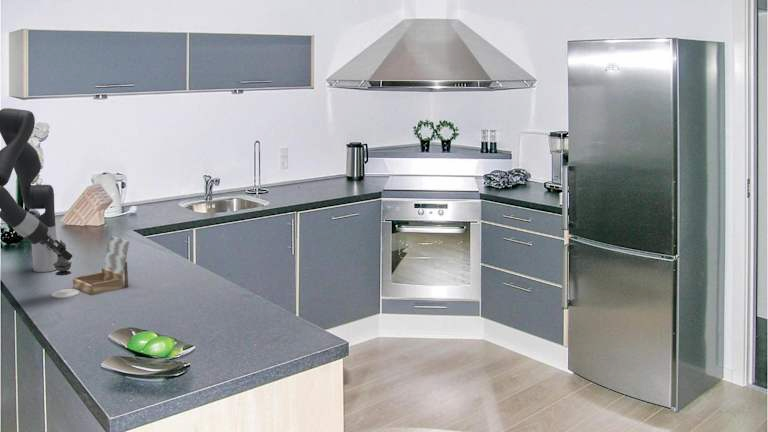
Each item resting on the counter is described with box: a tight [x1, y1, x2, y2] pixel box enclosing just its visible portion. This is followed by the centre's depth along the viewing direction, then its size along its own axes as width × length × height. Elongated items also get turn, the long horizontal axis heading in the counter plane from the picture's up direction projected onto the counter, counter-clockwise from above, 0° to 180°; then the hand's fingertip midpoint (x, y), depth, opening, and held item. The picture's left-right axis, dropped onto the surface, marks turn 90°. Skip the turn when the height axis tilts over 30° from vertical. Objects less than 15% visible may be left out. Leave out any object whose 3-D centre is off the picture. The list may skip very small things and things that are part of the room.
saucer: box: [51, 288, 80, 299], centre depth 286 cm, size 9×9×1 cm
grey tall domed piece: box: [54, 239, 73, 277], centre depth 284 cm, size 6×6×12 cm
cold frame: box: [72, 235, 130, 295], centre depth 294 cm, size 14×15×17 cm
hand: (67, 257), depth 285 cm, fingers closed on grey tall domed piece, 3 cm apart
